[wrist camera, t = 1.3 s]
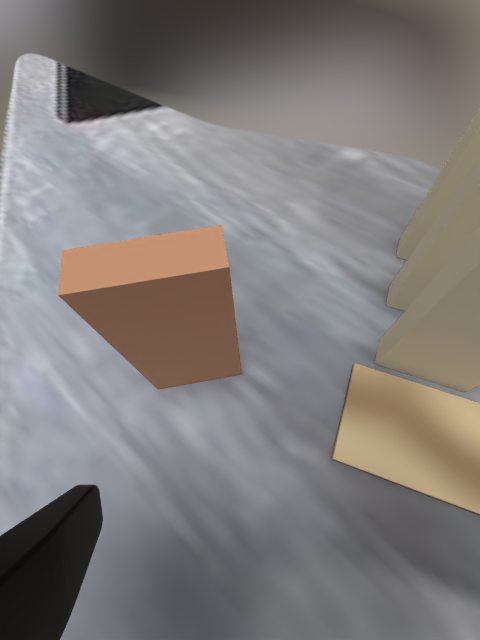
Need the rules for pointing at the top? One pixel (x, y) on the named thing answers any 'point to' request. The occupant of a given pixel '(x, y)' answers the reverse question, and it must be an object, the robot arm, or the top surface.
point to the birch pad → (411, 436)
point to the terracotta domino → (159, 303)
